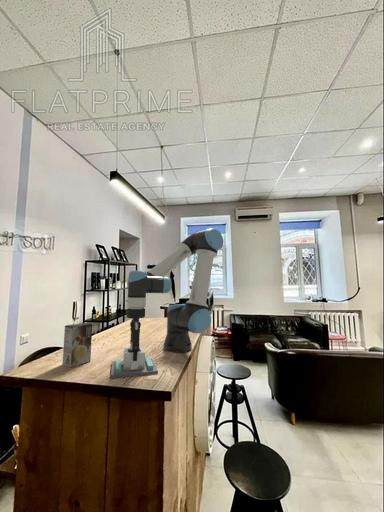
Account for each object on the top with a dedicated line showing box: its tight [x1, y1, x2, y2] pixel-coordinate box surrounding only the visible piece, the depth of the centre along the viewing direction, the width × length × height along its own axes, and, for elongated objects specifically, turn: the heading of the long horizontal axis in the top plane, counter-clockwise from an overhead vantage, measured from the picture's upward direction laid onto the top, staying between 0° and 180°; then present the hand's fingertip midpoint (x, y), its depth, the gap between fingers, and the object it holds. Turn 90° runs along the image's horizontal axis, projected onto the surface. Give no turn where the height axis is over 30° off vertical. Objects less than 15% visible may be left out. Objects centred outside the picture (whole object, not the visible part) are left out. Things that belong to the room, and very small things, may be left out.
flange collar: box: [122, 346, 146, 370], centre depth 93 cm, size 8×8×6 cm
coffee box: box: [61, 322, 93, 368], centre depth 99 cm, size 9×6×16 cm
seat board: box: [110, 342, 159, 379], centre depth 93 cm, size 17×16×10 cm
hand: (133, 365), depth 93 cm, fingers open, 9 cm apart
